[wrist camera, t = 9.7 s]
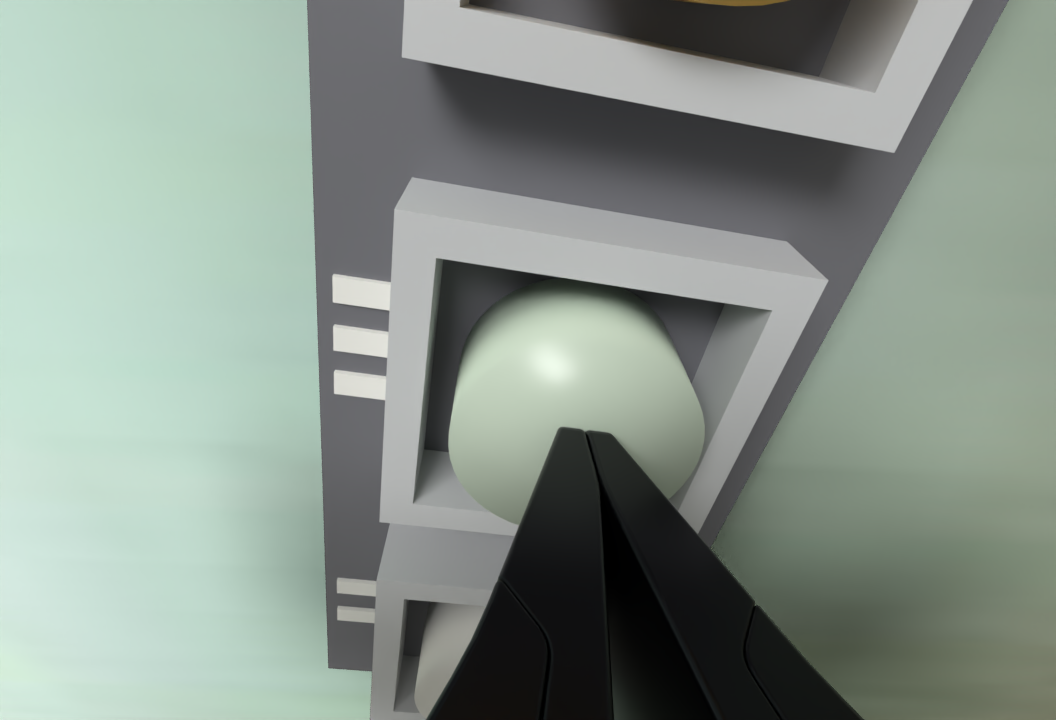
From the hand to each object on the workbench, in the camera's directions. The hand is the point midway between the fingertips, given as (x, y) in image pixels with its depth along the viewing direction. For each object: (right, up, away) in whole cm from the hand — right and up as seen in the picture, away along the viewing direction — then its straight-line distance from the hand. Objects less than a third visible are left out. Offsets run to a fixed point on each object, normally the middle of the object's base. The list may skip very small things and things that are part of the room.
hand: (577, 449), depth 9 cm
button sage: (0, +1, +2) cm, 2 cm away
